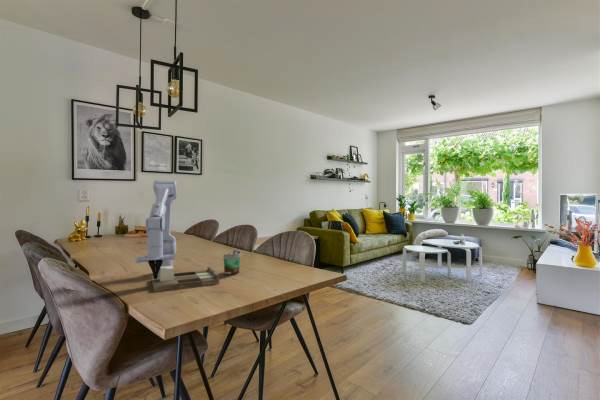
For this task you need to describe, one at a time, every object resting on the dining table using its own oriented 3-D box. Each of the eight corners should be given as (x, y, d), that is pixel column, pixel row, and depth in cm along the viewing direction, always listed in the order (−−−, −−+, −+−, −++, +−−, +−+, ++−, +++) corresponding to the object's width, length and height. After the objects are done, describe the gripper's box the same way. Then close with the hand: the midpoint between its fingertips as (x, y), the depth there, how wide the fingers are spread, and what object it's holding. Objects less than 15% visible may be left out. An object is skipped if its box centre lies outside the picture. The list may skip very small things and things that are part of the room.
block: (159, 278, 132) (159, 266, 132) (172, 277, 135) (172, 265, 135) (160, 281, 128) (160, 269, 128) (173, 280, 130) (173, 268, 130)
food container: (235, 277, 144) (235, 255, 144) (223, 276, 145) (223, 254, 145) (245, 270, 156) (245, 250, 156) (233, 269, 157) (234, 249, 157)
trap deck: (151, 280, 137) (151, 272, 137) (209, 273, 149) (209, 266, 149) (154, 292, 121) (154, 283, 121) (219, 283, 133) (219, 275, 133)
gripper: (135, 248, 122) (135, 283, 122) (175, 245, 129) (175, 278, 129) (135, 245, 128) (135, 278, 129) (173, 243, 135) (173, 274, 135)
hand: (155, 278), depth 129 cm, fingers closed
